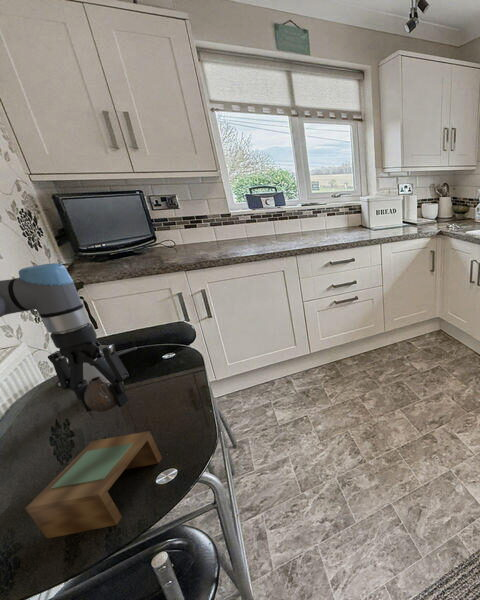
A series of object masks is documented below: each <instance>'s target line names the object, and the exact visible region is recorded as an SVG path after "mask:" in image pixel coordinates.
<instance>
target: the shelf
mask: <svg viewBox="0 0 480 600" xmlns="http://www.w3.org/2000/svg"><path fill="white" fill-rule="evenodd" d="M153 437H154V436H152V433H151V431H150V430H147V431H142V432H137V433H136V432H135V433H130V434H125V435H119V436H114V437H107V438H101V439H95V440H92V441H91V442H89V443H88V444H87V446H86V447H85V448H83V450H82V451H81V452H80V453H78V455H76V457H74V458H73V459H72V461H71V462H70V463H68V465H66V466H65V467H64V469H63V470H62V471H61V472H59V473H58V474H57V476H55V478H54V479H53V480H51V482H49V484H47V486H46V487H44V489H43V490H42V491H41V492H40V493H39V494H38V495H36V497H35V498H34V499H33V500H32V501H30V503H29V504H28V505H27V506H26V507H25V508H24V509H25V511H26V512H27V513H28V514H29V516H30V517H31V518H32V520H33V521H34V523H35V524H36V526H37V527H38V529H39V530H40V531H41V532H42V535H44V537H45V538H46V539H49V540H50V539H52V538H58V537H64V536H68V535H72V534H73V535H74V534H77V533H82V532H87V531H93V530H98V529H103V528H108V527H113V526H114V527H115V526H117V525H118V524H119V523H120V521H121V519H122V518H123V516H122V515H121V512H120V511H119V509H118V507H117V505H116V504H115V502H114V500H113V499H112V497H111V496H110V493H109V492H108V491H109V490H110V489H111V488H112V486H113V485H114V484H115V483H116V481H117V480H118V479H119V477H120V476H121V475H122V473H123V472H124V471H125V470H130V469H136V468H142V467H145V466H146V467H147V466H152V465H158V464H159V463H160V462H161V461H162V459H163V457H162V455H161V453H160V451H159V448H158V446H157V444H156V442H155V439H154V438H153Z"/></svg>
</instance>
